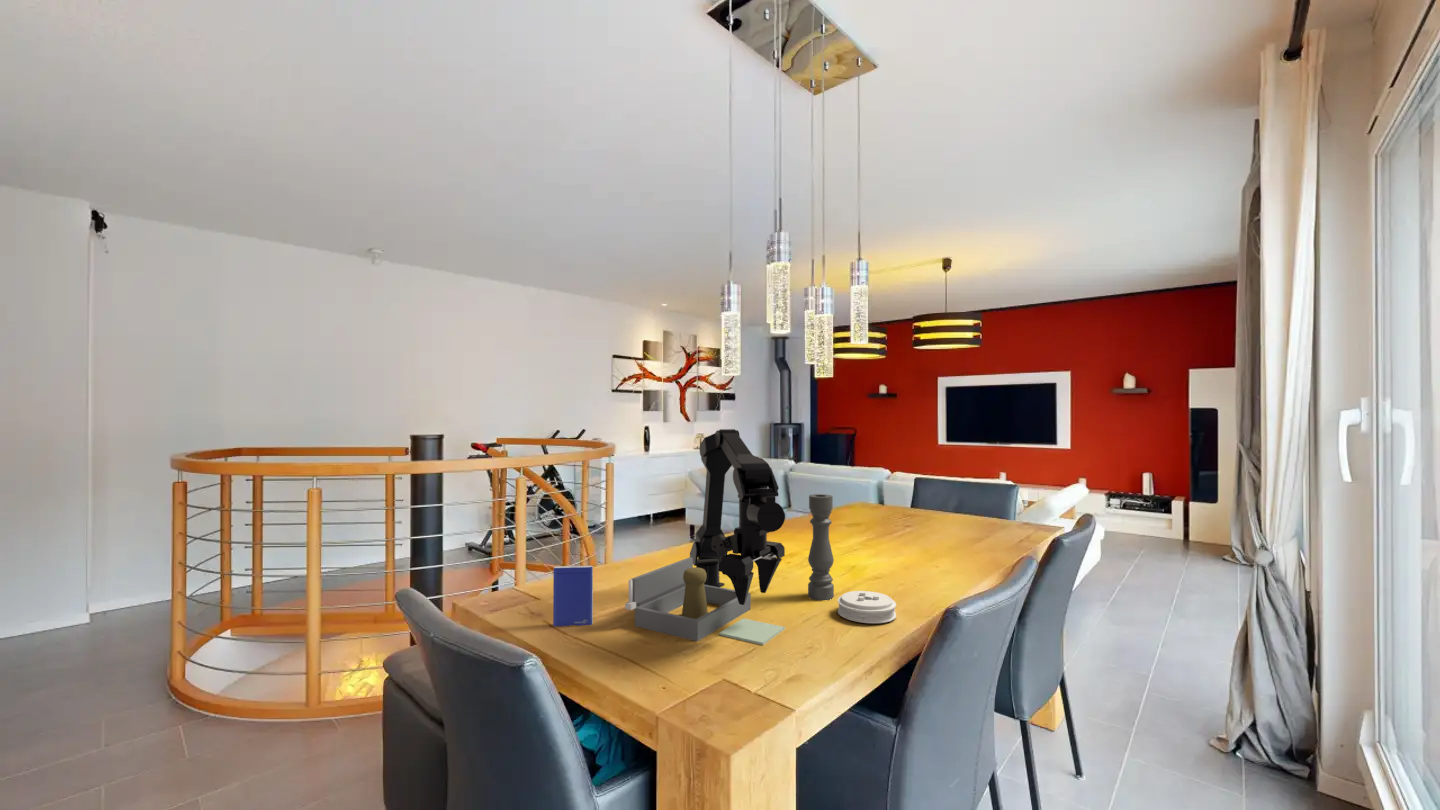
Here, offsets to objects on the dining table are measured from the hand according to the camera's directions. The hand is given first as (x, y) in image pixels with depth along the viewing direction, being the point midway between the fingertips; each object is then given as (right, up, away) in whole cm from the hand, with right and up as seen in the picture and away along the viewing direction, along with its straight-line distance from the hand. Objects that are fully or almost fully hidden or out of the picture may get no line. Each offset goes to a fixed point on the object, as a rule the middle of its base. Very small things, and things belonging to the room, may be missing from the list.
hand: (752, 598), depth 125 cm
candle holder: (+18, -8, +23) cm, 30 cm away
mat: (0, -7, 0) cm, 7 cm away
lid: (+26, -8, +10) cm, 29 cm away
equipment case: (-13, -7, +8) cm, 17 cm away
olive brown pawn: (-12, -7, +9) cm, 17 cm away
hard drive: (-38, -7, +5) cm, 39 cm away
